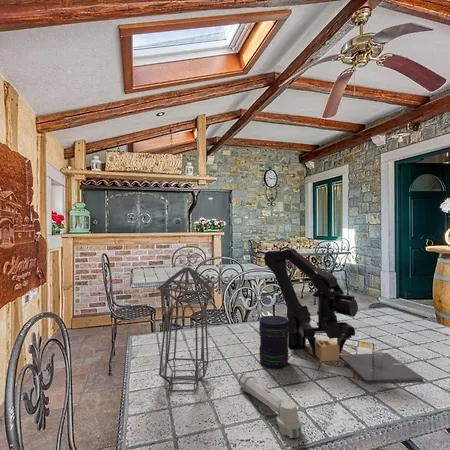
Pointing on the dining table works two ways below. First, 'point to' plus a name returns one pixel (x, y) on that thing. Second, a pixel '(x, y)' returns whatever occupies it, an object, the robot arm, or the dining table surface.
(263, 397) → the toothbrush head
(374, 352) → the hub plate
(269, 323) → the dark purple barrel
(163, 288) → the geometric lantern
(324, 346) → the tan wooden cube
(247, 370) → the dining table surface
